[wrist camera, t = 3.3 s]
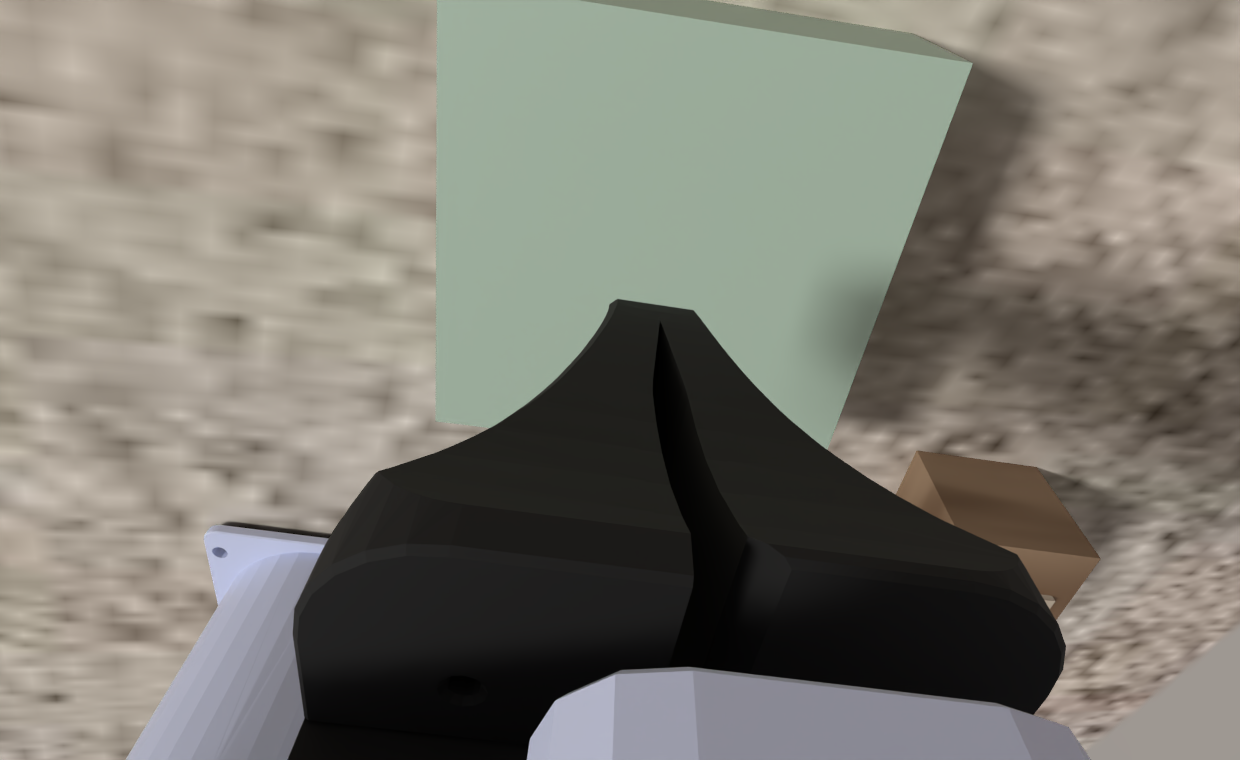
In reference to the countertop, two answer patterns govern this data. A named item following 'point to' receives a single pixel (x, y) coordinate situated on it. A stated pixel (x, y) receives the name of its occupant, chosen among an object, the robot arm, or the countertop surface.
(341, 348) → the countertop surface
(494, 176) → the sage block
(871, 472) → the countertop surface
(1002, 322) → the countertop surface
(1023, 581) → the robot arm
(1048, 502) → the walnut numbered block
